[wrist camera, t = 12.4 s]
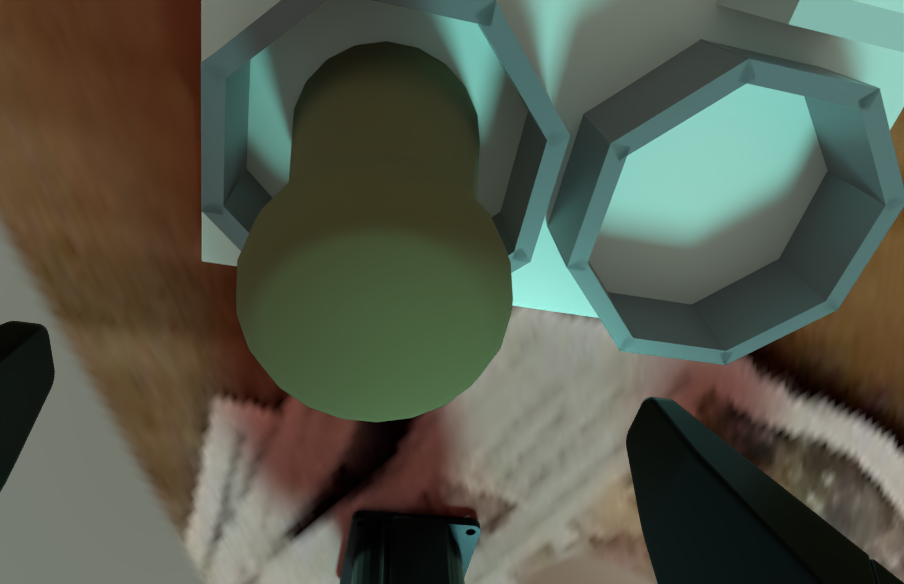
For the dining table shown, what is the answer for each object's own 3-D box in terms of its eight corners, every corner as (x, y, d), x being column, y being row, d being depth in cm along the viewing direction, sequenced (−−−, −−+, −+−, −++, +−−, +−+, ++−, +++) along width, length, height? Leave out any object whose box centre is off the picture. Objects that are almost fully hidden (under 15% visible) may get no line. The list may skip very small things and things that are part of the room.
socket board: (756, 330, 26) (823, 407, 22) (208, 250, 22) (163, 326, 18) (944, 0, 19) (1090, 22, 15) (209, -194, 15) (140, -235, 11)
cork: (250, 116, 19) (101, 312, 9) (409, -3, 17) (419, 90, 8) (369, 256, 22) (344, 512, 12) (514, 164, 20) (611, 375, 11)
